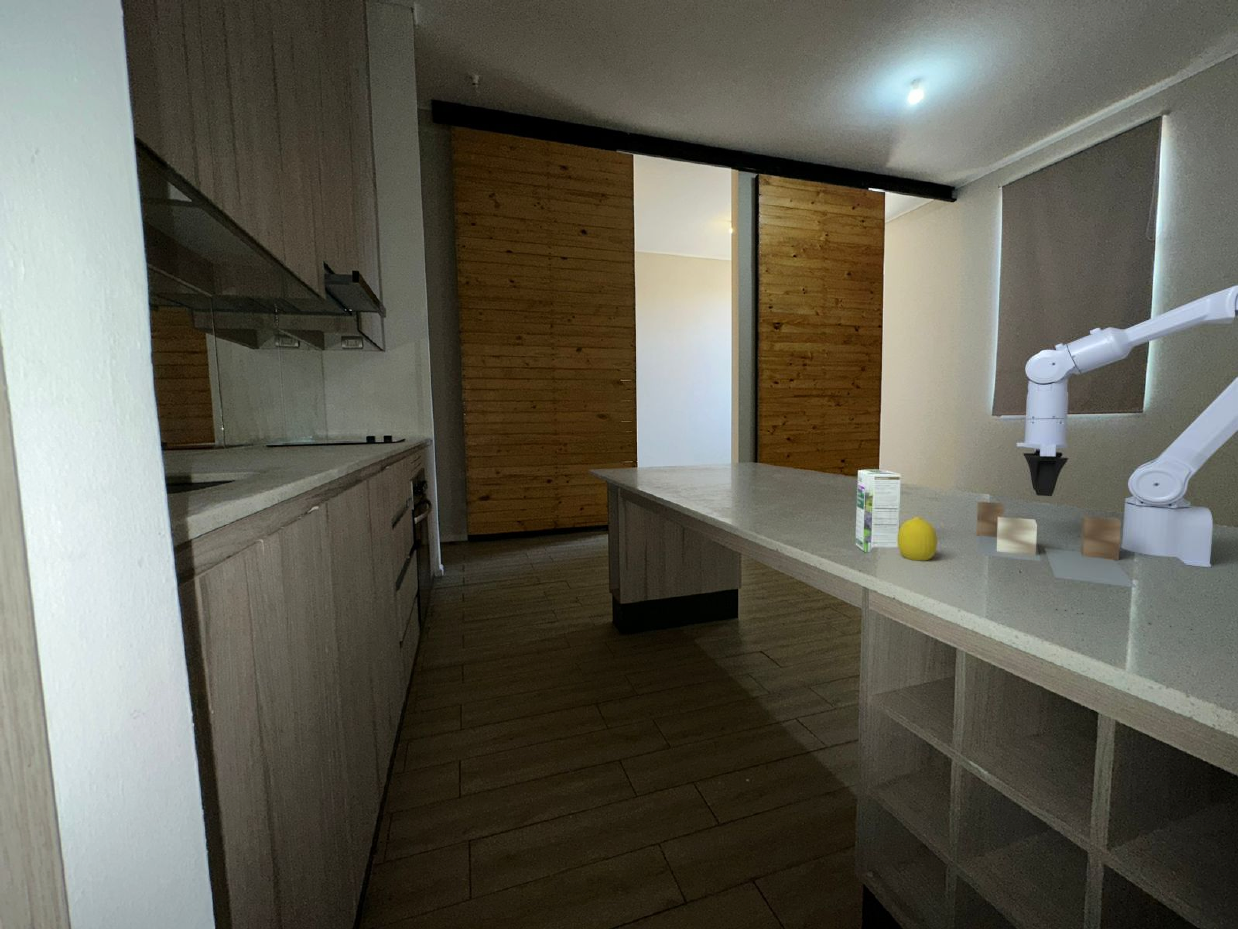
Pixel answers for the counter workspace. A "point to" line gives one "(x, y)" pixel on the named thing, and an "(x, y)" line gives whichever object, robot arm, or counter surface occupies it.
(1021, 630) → the counter surface
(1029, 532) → the block
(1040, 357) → the robot arm
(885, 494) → the syrup box
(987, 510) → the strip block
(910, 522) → the lemon
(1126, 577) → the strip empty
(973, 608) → the counter surface
